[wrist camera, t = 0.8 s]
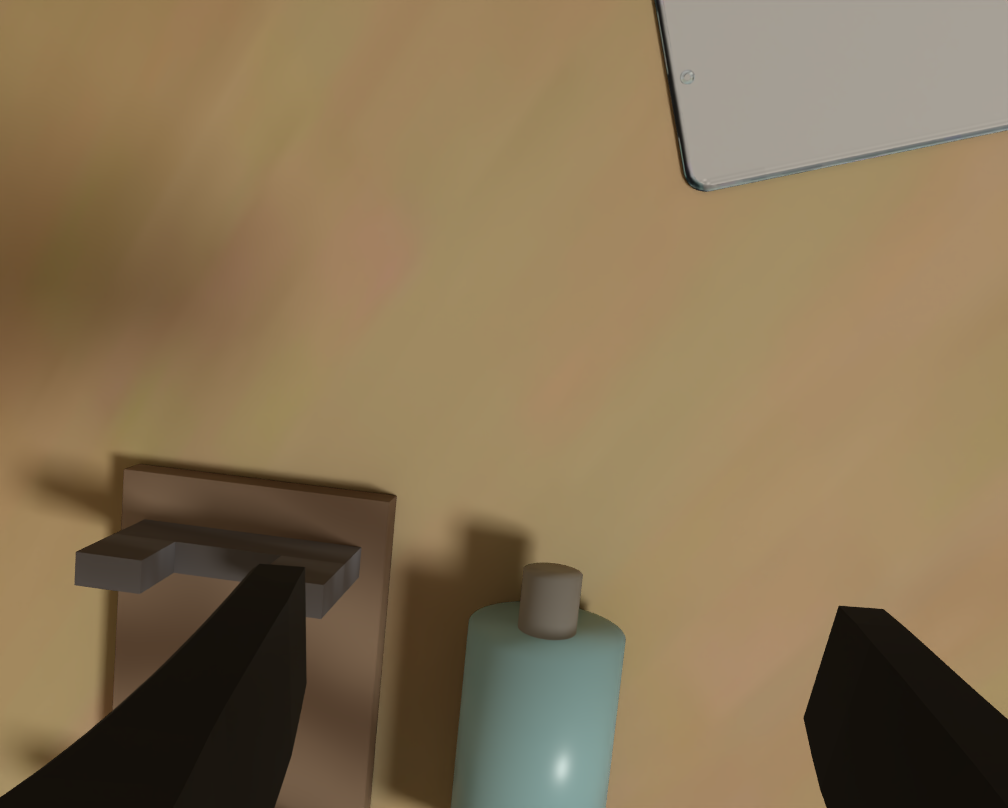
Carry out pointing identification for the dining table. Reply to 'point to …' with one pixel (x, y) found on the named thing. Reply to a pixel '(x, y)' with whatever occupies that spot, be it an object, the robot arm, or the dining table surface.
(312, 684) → the holder
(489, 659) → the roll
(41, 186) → the dining table surface
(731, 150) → the smartphone
